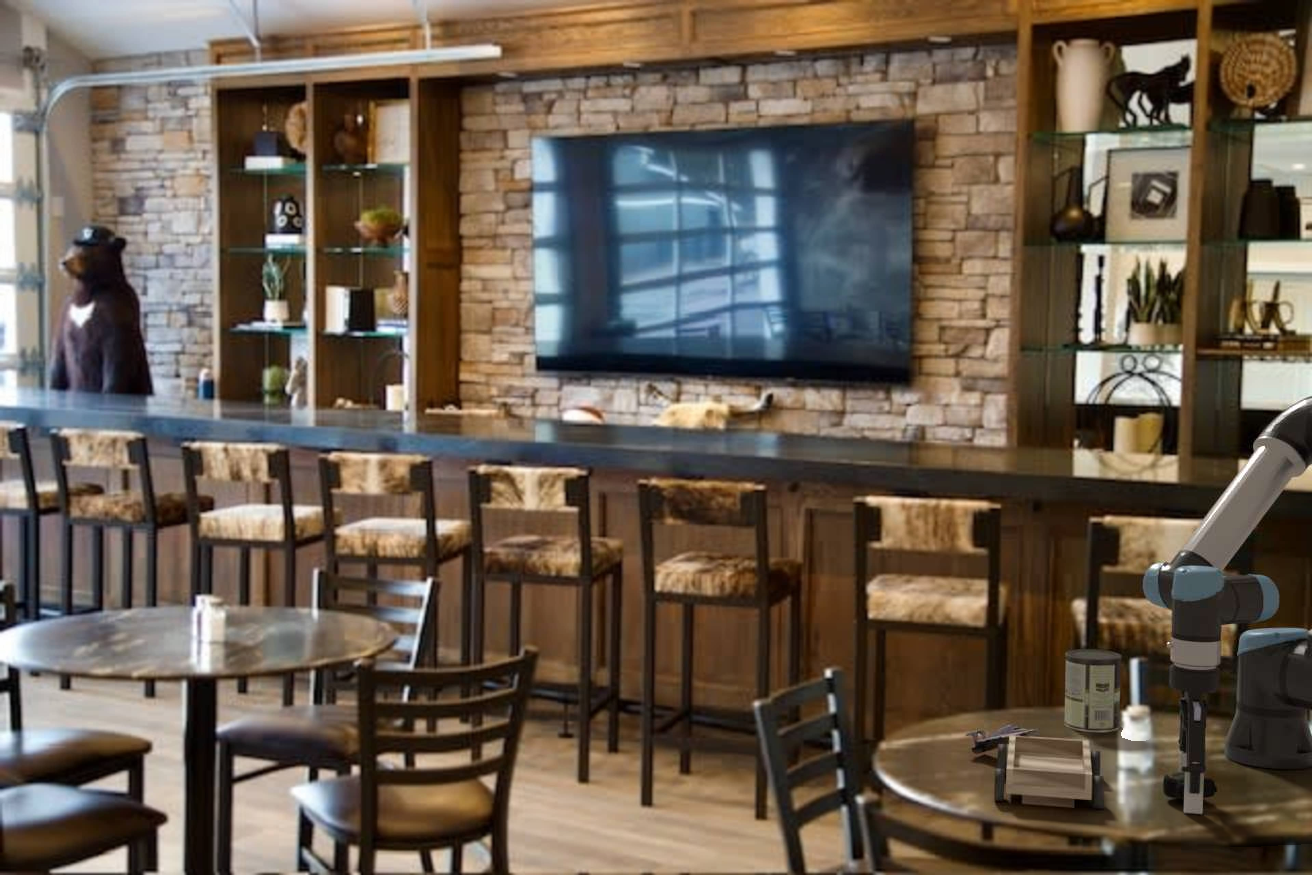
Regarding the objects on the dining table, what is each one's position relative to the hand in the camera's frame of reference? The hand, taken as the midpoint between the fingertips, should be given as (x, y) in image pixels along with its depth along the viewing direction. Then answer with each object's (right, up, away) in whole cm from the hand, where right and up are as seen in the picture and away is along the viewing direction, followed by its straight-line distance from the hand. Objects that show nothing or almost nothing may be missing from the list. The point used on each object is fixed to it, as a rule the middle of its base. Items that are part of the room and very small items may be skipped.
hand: (1189, 802), depth 257 cm
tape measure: (0, 0, -2) cm, 2 cm away
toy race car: (-25, +1, +27) cm, 37 cm away
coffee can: (-2, +3, +50) cm, 50 cm away
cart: (-21, 0, +7) cm, 22 cm away
